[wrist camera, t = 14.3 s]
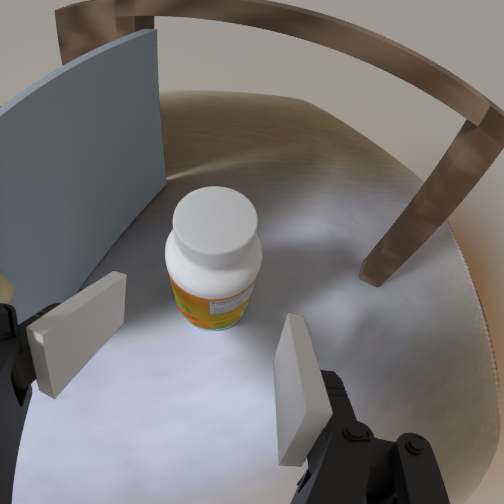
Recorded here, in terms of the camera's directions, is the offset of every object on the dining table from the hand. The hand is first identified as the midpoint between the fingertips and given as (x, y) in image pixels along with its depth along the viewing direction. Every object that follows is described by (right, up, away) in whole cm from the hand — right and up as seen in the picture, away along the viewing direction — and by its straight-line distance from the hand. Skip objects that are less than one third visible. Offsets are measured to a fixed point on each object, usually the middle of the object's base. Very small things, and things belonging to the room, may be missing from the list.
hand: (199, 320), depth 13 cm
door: (-10, +3, +8) cm, 13 cm away
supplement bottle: (-1, 0, +8) cm, 8 cm away
